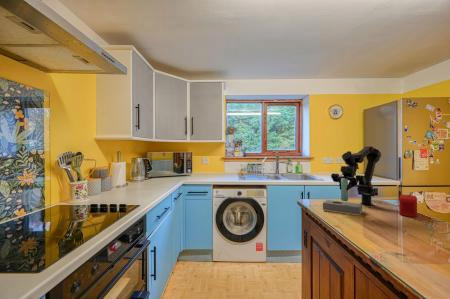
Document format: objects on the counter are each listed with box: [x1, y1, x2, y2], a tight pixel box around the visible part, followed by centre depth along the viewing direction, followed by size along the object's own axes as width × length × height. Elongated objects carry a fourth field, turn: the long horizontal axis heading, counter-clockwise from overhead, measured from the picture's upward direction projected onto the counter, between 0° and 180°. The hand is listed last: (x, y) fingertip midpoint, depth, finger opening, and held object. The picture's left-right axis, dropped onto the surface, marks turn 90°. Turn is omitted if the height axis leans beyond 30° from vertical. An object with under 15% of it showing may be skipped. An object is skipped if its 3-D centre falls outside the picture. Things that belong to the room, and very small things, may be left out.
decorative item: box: [397, 194, 418, 218], centre depth 136 cm, size 15×9×10 cm, turn 141°
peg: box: [340, 178, 349, 202], centre depth 141 cm, size 4×4×13 cm
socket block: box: [322, 199, 363, 216], centre depth 144 cm, size 10×20×4 cm, turn 51°
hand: (343, 189), depth 140 cm, fingers closed on peg, 4 cm apart
